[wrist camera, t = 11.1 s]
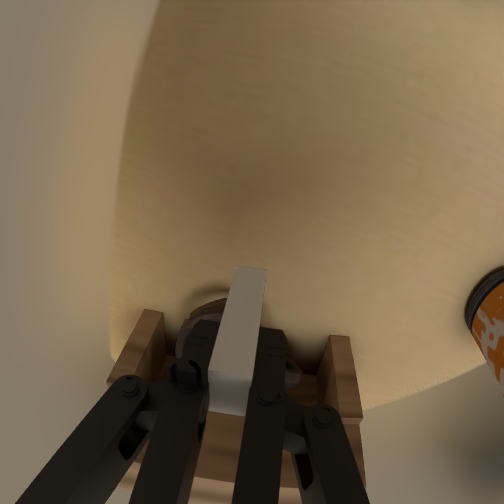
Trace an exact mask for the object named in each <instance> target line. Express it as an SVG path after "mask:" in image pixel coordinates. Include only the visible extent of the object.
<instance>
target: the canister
mask: <svg viewBox="0 0 504 504" xmlns="http://www.w3.org/2000/svg"><path fill="white" fill-rule="evenodd" d="M466 323H467V326H468V328H469V330H470V332H471V334H472V335H473V337H474V339H475V341H476V343H477V344H478V346H479V348H480V350H481V352H482V354H483V355H484V357H485V359H486V361H487V363H488V365H489V367H490V369H491V371H492V373H493V375H494V377H495V379H496V381H497V383H498V385H499V387H500V389H501V391H502V394H503V396H504V269H503V270H501V271H499V272H497V273H495V274H494V275H492V276H491V277H489V278H488V279H487V280H486V281H485V282H484V283H483V284H482V285H481V286H480V287H479V288H478V290H477V291H476V293H475V294H474V296H473V297H472V299H471V301H470V303H469V306H468V309H467V313H466Z"/></svg>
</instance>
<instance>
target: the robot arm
mask: <svg viewBox="0 0 504 504" xmlns="http://www.w3.org/2000/svg"><path fill="white" fill-rule="evenodd" d="M266 273H267V270H266V269H258V268H251V267H243V266H236V269H235V273H234V276H233V280H232V283H231V287H230V291H229V294H228V298H227V302H226V305H225V309H224V312H223V316H222V320H221V322H217V321H210V320H204V319H200V320H199V321H198V322H197V323H196V324H195V325H194V326H193V329H192V331H191V334H190V337H189V340H188V343H187V345H186V348H185V351H184V354H183V357H181V358H177V359H175V360H173V361H172V362H170V364H169V365H168V367H167V370H168V376H169V379H167V380H165V381H160V382H145V381H144V380H143V379H142V378H141V377H139V376H136V375H133V374H131V375H124V376H121V377H119V378H118V379H117V380H116V381H115V382H114V383H113V384H112V385H111V386H110V388H109V389H108V390H107V391H106V392H105V394H104V395H103V396H102V397H101V398H100V400H99V401H98V402H97V403H96V405H95V406H94V407H93V408H92V409H91V410H90V412H89V413H88V414H87V415H86V416H85V418H84V419H83V420H82V421H81V422H80V424H79V425H78V426H77V427H76V428H75V430H74V431H73V432H72V433H71V435H70V436H69V437H68V438H67V439H66V441H65V442H64V443H63V444H62V446H61V447H60V448H59V449H58V450H57V452H56V453H55V454H54V456H53V457H52V458H51V459H50V460H49V462H48V463H47V464H46V465H45V467H44V468H43V469H42V470H41V472H40V473H39V474H38V475H37V477H36V478H35V479H34V480H33V482H32V483H31V484H30V485H29V487H28V488H27V489H26V490H25V492H24V493H23V494H22V495H21V497H20V498H19V499H18V500H17V502H16V503H15V504H105V503H106V501H107V500H108V498H109V497H110V495H111V494H112V492H113V491H114V490H115V488H116V487H117V485H118V484H119V482H120V481H121V479H122V478H123V477H124V475H125V474H126V472H127V471H128V469H129V468H130V466H131V465H132V463H133V462H134V460H135V459H136V457H137V456H138V455H139V453H140V452H141V450H142V449H143V447H144V446H145V444H146V443H147V441H148V440H149V442H148V445H147V448H146V451H145V454H144V457H143V460H142V463H141V466H140V469H139V472H138V476H137V479H136V482H135V485H134V488H133V491H132V494H131V498H130V501H129V504H188V501H189V497H190V492H191V488H192V484H193V479H194V475H195V471H196V466H197V462H198V457H199V453H200V449H201V444H202V440H203V436H204V431H205V427H206V416H207V412H208V407H209V411H213V412H219V413H225V414H231V415H238V416H245V421H244V428H243V434H242V440H241V447H240V453H239V459H238V465H237V472H236V478H235V484H234V490H233V496H232V502H231V504H278V502H279V491H280V479H281V467H282V453H283V450H286V451H288V452H290V453H291V457H292V462H293V466H294V470H295V475H296V479H297V483H298V488H299V492H300V496H301V501H302V504H370V503H369V499H368V497H367V493H366V490H365V487H364V484H363V481H362V478H361V475H360V472H359V469H358V466H357V463H356V460H355V457H354V454H353V451H352V448H351V445H350V442H349V440H348V437H347V434H346V431H345V428H344V425H343V422H342V419H341V416H340V415H339V413H338V411H337V410H336V409H334V408H333V407H332V406H329V405H326V404H316V405H313V406H311V407H307V406H305V405H302V404H300V403H297V402H296V401H294V400H293V399H291V398H290V397H289V395H288V394H287V392H286V390H285V371H286V349H287V338H286V336H285V334H284V332H283V330H279V329H271V328H263V327H259V326H260V319H261V311H262V304H263V296H264V288H265V281H266ZM149 438H150V439H149Z"/></svg>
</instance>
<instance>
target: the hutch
mask: <svg viewBox="0 0 504 504" xmlns="http://www.w3.org/2000/svg"><path fill="white" fill-rule="evenodd" d="M175 359H177V358H176V356H171V355H167V349H166V340H165V330H164V320H163V313H161V312H156V311H150V310H144V312H143V314H142V315H141V317H140V319H139V321H138V323H137V324H136V326H135V328H134V330H133V332H132V334H131V335H130V337H129V339H128V341H127V343H126V345H125V347H124V348H123V350H122V352H121V354H120V356H119V358H118V360H117V362H116V364H115V366H114V367H113V369H112V371H111V373H110V375H109V377H108V379H107V385H108V387H109V388H110V386H111V385H112V384H113V383H114V382H115V381H116V380H117V379H118V378H119V377H121V376H124V375H131V374H133V375H136V376H139V377H141V378H142V379H143V380H144V381H145V382H160V381H165V380H167V379H169V376H168V370H167V367H168V365H169V364H170V362H172V361H173V360H175ZM286 392H287V394H288V395H289V397H290V398H291V399H293V400H294V401H296V402H297V403H300V404H302V405H305V406H307V407H311V406H313V405H316V404H326V405H329V406H332V407H333V408H334V409H336V410H337V411H338V413H339V415H340V416H341V419H342V422H343V425H344V428H345V431H346V434H347V437H348V440H349V442H350V445H351V448H352V451H353V454H354V457H355V460H356V463H357V466H358V469H359V472H360V475H361V478H362V481H363V484H364V487H365V488H366V480H365V470H364V460H363V452H362V443H361V435H360V427H359V424H360V422H361V421H362V419H363V414H362V407H361V401H360V395H359V389H358V383H357V377H356V371H355V366H354V360H353V355H352V350H351V345H350V340H349V337H346V336H334V335H330V337H329V340H328V343H327V346H326V349H325V352H324V355H323V358H322V361H321V363H320V366H319V369H318V372H317V375H309V374H303V376H302V379H301V381H300V383H298V386H296V387H295V388H293V389H288V390H286ZM244 421H245V416H238V415H231V414H225V413H219V412H213V411H209V407H208V412H207V416H206V427H205V431H204V436H203V440H202V444H201V449H200V453H199V457H198V462H197V466H196V471H195V475H194V479H193V484H192V488H191V492H190V497H189V501H188V504H231V502H232V496H233V490H234V484H235V478H236V472H237V465H238V459H239V453H240V447H241V440H242V434H243V428H244ZM149 439H150V438H149ZM148 442H149V440H148V441H147V443H146V444H145V446H144V447H143V449H142V450H141V452H140V453H139V455H138V456H137V457H136V459H135V460H134V462H133V463H132V465H131V466H130V468H129V469H128V471H127V472H126V474H125V475H124V477H123V478H122V479H121V481H120V482H119V484H118V485H117V486H120V487H123V488H126V489H129V490H133V488H134V485H135V482H136V479H137V476H138V472H139V469H140V466H141V463H142V460H143V457H144V454H145V451H146V448H147V445H148ZM278 504H302V501H301V496H300V492H299V488H298V483H297V479H296V475H295V470H294V466H293V462H292V457H291V453H290V452H288V451H286V450H283V453H282V467H281V479H280V491H279V502H278Z"/></svg>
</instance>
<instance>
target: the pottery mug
mask: <svg viewBox="0 0 504 504" xmlns="http://www.w3.org/2000/svg"><path fill="white" fill-rule="evenodd" d="M226 302H227V298H223V299H219V300H215V301H213V302H210V303H207V304H205V305H203V306H201V307H199V308H197V309H196V310H194V311H193V312H192V313H191V314H190V315H191V316H190V318H189V319H186V320H185V321H184V323H183V325H182V327H181V329H180V333H179V335H178V337H177V341H176V351H175V353H176V356H177V357H176V358H181V357H183V354H184V351H185V348H186V345H187V340H188V338H189V336H190V334H191V331H192V329H193V326H194V325H195V324H196V323H197V322H198V321H199V320H200V319H204V320H210V321H217V322H221V320H222V316H223V312H224V309H225V305H226ZM302 376H303V374H302V373H301V370H300V368H299V366H298V365H297V364H296V363H294V362H293V361H292V360H291V359H289V358H288V357H286V371H285V390H288V389H293V388H295V387H296V386H298V383H300V381H301V379H302Z"/></svg>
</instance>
